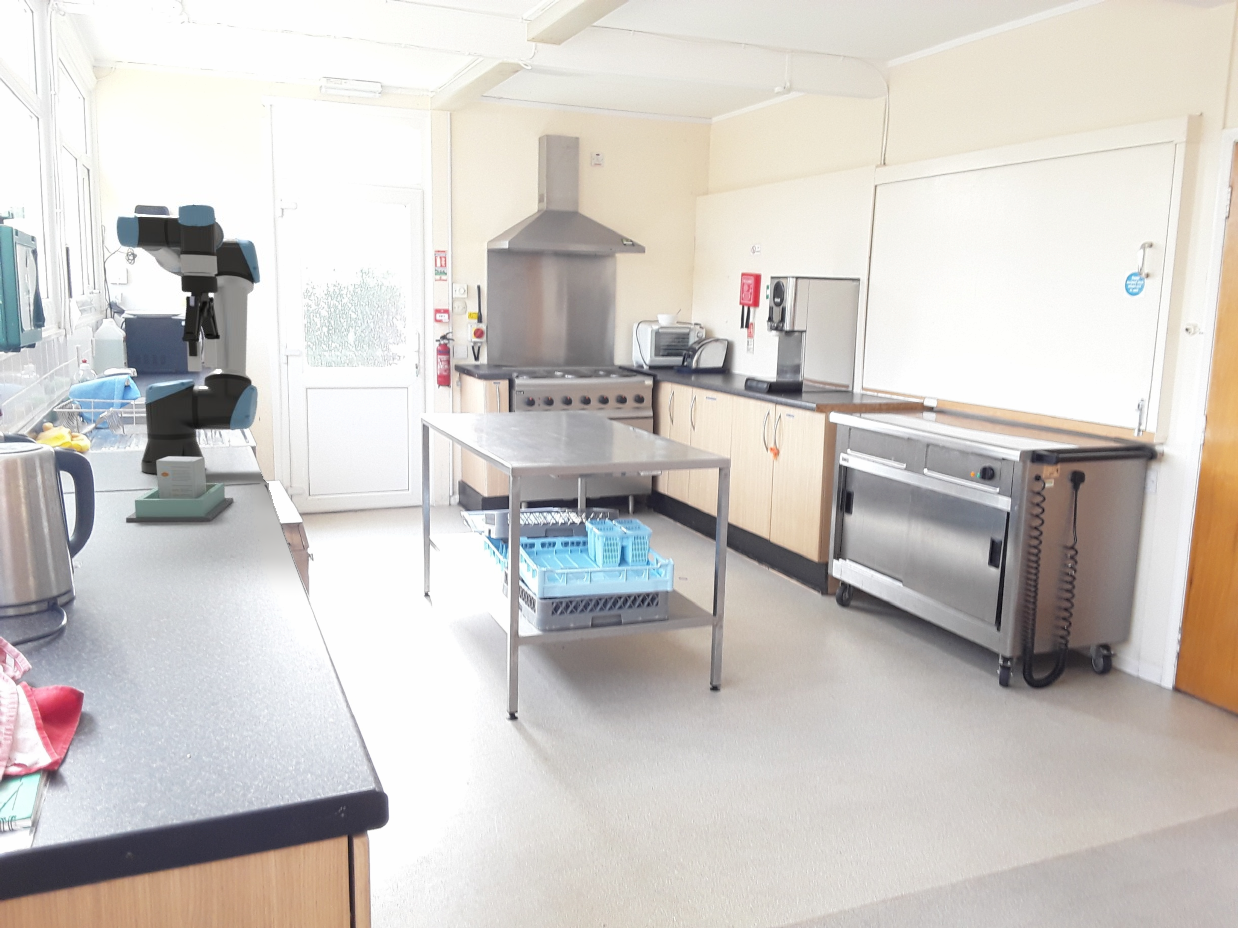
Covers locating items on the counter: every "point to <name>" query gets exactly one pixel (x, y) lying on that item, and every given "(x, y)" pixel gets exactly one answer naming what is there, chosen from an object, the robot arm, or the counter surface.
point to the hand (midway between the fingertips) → (203, 369)
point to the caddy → (180, 506)
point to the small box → (181, 477)
